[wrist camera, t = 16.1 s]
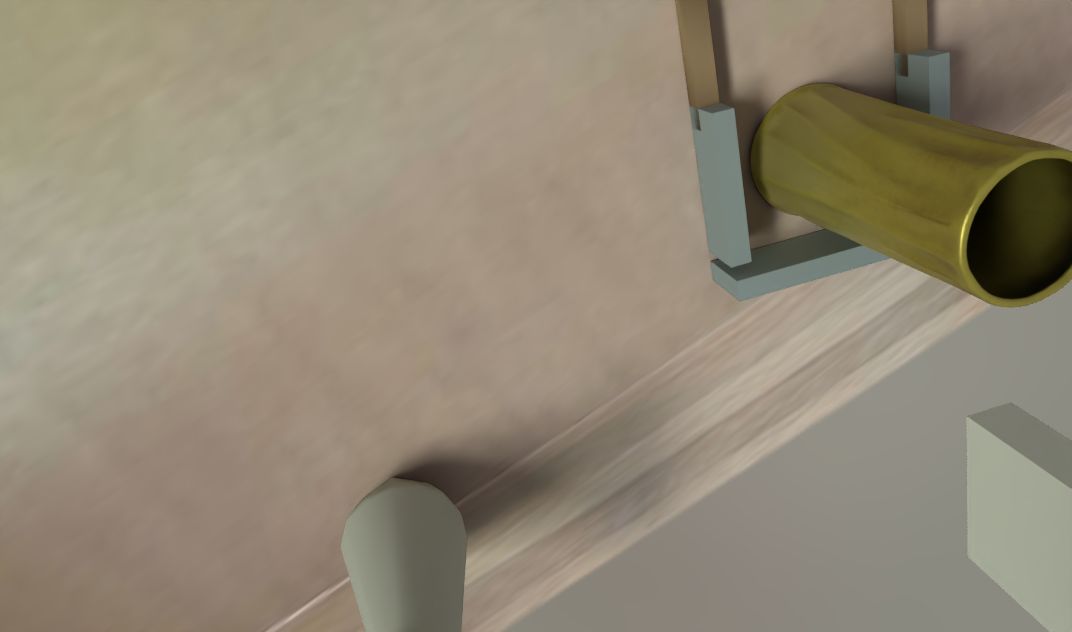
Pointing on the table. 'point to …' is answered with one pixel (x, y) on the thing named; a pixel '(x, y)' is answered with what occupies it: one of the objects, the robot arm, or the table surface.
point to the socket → (803, 254)
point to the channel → (701, 56)
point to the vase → (922, 190)
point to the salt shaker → (407, 558)
